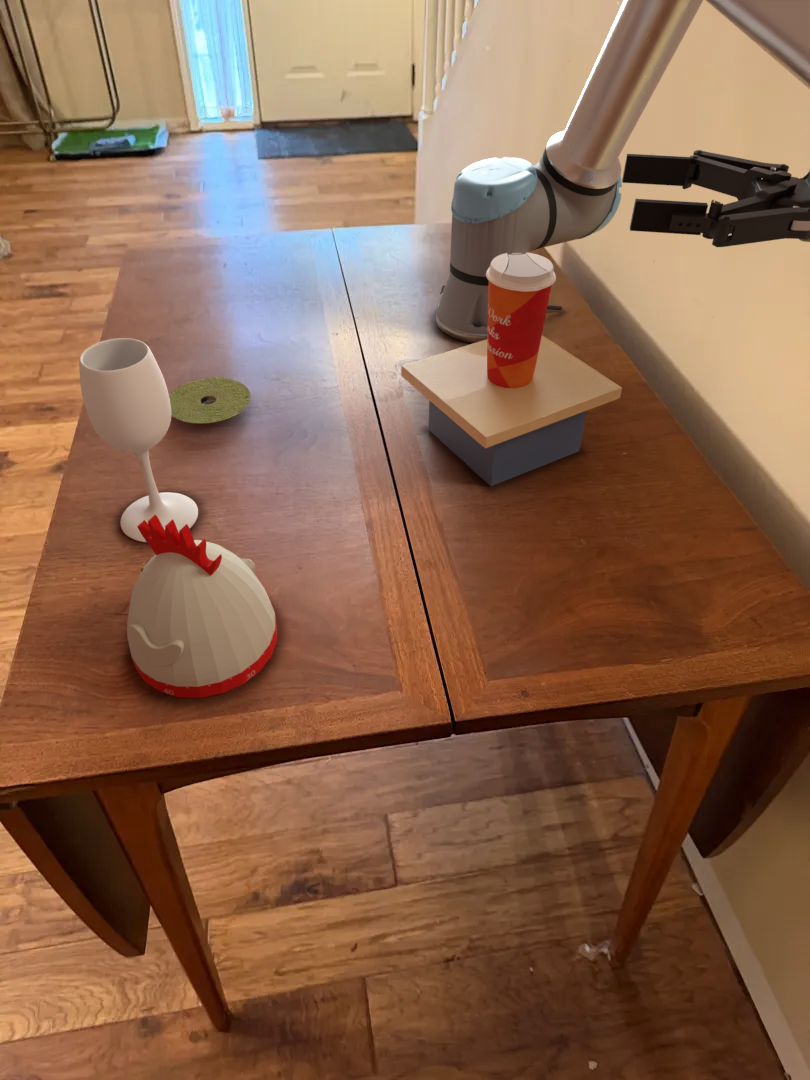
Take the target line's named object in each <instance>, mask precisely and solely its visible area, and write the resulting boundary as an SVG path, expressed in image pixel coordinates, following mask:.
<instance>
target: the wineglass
mask: <svg viewBox="0 0 810 1080" xmlns="http://www.w3.org/2000/svg"><path fill="white" fill-rule="evenodd" d="M78 362H79V363H78V365H79V367H78V368H79V383H80V389H81V390H80V391H81V396H82V400H83V401H82V402H83V405H84V408H85V411H86V414H87V417H88V419H89V422H90V424H91V426H92V428H93V430H94V431H95V433H96V435H97V436H98V437H99V439H101V440H102V441H103V442H104V443H106V444H107V445H109V446H110V447H111V448H114V449H116V450H119V451H121V452H125V453H132V454H134V455H135V456H136V458H137V460H138V463H139V466H140V468H141V471H142V474H143V478H144V482H145V486H146V491H147V495H145V496H142V497H140V498H139V499H137V500H135V501H134V502H132V503H131V504H130V505H129V506H128V507H127V508H126V509H125V510H124V511H123V513H122V515H121V517H120V528H121V530H122V532H123V533H124V534H125V535H126V536H127V537H128V538H130V539H132V540H134V541H137V542H141V543H147V542H146V540H145V539H144V537H143V536H142V534H141V533H140V531H139V529H138V527H137V526H138V525H139V524H140V523H142V522H143V521H144V520H145V521H146V522H147V523H148V521H149V520H150V519H151V518H152V517H153V516H154V515H156V516H157V517H158V519H159V521H160V522H161V524H162V526H163V528H164V530H165V526H166V525H167V524H168V523H169V522H170V521H171V520H172V519H173V520H174V522H175V525H176V527H177V530H178V532H179V531H180V530H181V529H182V528H183V527H184V526H185V525H186V524H187V525H188V527H189V529H190V530H191V528H192V527H193V526H194V525H195V523H196V521H197V520H198V516H199V508H198V505H197V503H196V502H195V501H194V500H193V499H192V498H191V497H189V496H188V495H184V494H183V493H178V492H171V491H165V492H162V491H161V492H159V490H158V487H157V484H156V482H155V478H154V474H153V471H152V467H151V462H150V455H149V454H150V453H149V451H150V450H151V449H152V448H155V446H157V445H158V444H159V443H161V441H162V440H163V439H164V437H165V436H166V435H167V432H168V431H169V428H170V426H171V422H172V416H171V404H170V398H169V395H170V393H169V390H168V387H167V383H166V380H165V378H164V375H163V373H162V371H161V368H160V366H159V364H158V362H157V359H156V358H155V356H154V354H153V352H152V350H151V348H150V346H148V344H146V343H145V342H144V341H141V340H139V339H135V338H131V337H119V338H118V337H115V338H109V339H105V340H102V341H98V342H96V343H94V344H92V345H90V346H88V347H87V348H85V349H84V351H82V353H81V354H80V356H79V361H78Z"/></svg>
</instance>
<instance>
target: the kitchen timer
mask: <svg viewBox="0 0 810 1080" xmlns="http://www.w3.org/2000/svg"><path fill="white" fill-rule="evenodd" d="M137 527H138V529H139V531H140V533H141V534H142V536H143V537H144V539H145V540H146V542H145V543H147V545H148V546H149V547H150V549H151V551H152V552H153V553H154V555H153V556H152V557H151V558H150V559H149V560H148V561H147V563H146V564H145V565H144V566H143V567H141V568H140V574H139V575H138V577H137V579H136V581H135V583H134V585H133V587H132V592H131V595H130V602H129V606H128V607H129V608H128V616H127V623H126V625H127V626H126V636H127V637H126V639H127V643H128V647H129V651H130V655H131V659H132V662H133V665H134V667H135V668H134V669H135V670H136V671H137V673H138V674H139V676H140V677H141V678H142V679H143V681H144V682H145V683H146V684H147V685H149V686H150V687H152V688H154V689H155V690H156V691H158V692H160V693H163V694H165V695H169V696H173V697H178V698H188V699H189V698H190V699H202V698H208V697H213V696H217V695H221V694H225V693H226V692H229V691H231V690H233V689H235V688H238V687H240V686H242V685H244V684H245V683H247V682H248V681H250V680H251V679H252V678H253V677H255V676H256V675H257V674H258V673H260V672H261V670H262V669H263V668H264V666H265V665H266V664H267V662H268V661H269V660H270V659H271V657H272V656H273V653H274V650H275V647H276V644H277V642H278V625H277V623H278V622H277V618H276V613H275V609H274V607H273V605H272V602H271V599H270V597H269V595H268V593H267V591H266V589H265V587H264V586H263V585H262V583H261V581H260V579H259V578H258V577H257V575H256V574H255V573H256V569H257V568H256V564H255V563H254V561H253V560H252V559H250V558H242V557H239V556H238V555H237V554H235V553H234V552H232V551H231V550H228V549H226V548H225V547H224V546H222V545H220V544H217V543H213V542H210V541H207V540H206V539H202V540H201V539H194V536H193V534H192V531H191V528H190V529H189V527H188V525H187V524H186V525H185V526H184V527H183V528H182V529H181V530H180V531H179V532H178V530H177V527H176V525H175V522H174V520H173V519H172V520H171V521H170V522H169V523H168V524H167V525H166V526H165V530H164V528H163V526H162V524H161V522H160V521H159V519H158V517H157V516H156V515H154V516H153V517H152V518H151V519H150V520H149V521H148V523H147V522H146V521H145V520H144V521H143V522H142V523H140V524H139V525H138V526H137Z"/></svg>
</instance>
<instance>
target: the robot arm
mask: <svg viewBox="0 0 810 1080" xmlns="http://www.w3.org/2000/svg"><path fill="white" fill-rule="evenodd" d="M705 1H706V2H707V3H708V4H709V5H711V6H712V7H713V8H714V9H715V10H716V11H717V12H719V13H720V14H721V15H722V16H723V17H725V18H726V19H727V20H728V21H729V22H730V23H731V24H732V25H734V26H735V27H736V28H737V29H738V30H740V32H742V33H743V34H745V35H746V36H747V37H748V38H749V39H750V40H751V41H753V42H754V43H755V44H756V45H757V46H758V47H759V48H761V49H762V50H763V51H764V52H765V53H767V54H768V55H769V56H770V57H771V58H772V59H774V61H775V62H777V63H778V64H779V65H781V66H782V67H783V68H784V69H785V70H787V72H789V73H790V74H791V75H792V76H793V77H794V78H796V79H797V80H798V81H799V82H800V83H801V84H803V85H804V86H805V87H806V88H808V89H809V90H810V0H705ZM703 2H704V0H623V1H622V3H621V5H620V8H619V10H618V13H617V15H616V16H615V19H614V21H613V23H612V26H611V27H610V30H609V33H608V35H607V37H606V39H605V41H604V43H603V45H602V47H601V50H600V52H599V54H598V57H597V58H596V61H595V62H594V65H593V67H592V70H591V72H590V74H589V77H588V79H587V80H586V82H585V85H584V88H583V90H582V91H581V94H580V95H579V98H578V100H577V102H576V104H575V107H574V109H573V111H572V114H571V116H570V118H569V120H568V123H567V125H566V127H565V129H564V130H562V131H559V132H557V133H555V134H553V135H552V136H551V137H550V138H549V139H548V141H547V143H546V145H545V148H544V150H543V153H542V154H541V157H540V160H539V161H538V162H537V163H536V164H532V163H531V162H530V161H528V160H527V159H524V158H520V157H515V156H513V157H512V156H503V157H500V158H498V157H489V158H485V159H481V160H478V161H475V162H473V163H471V164H469V165H468V166H466V167H464V169H462V170H461V171H460V173H459V174H458V175H457V176H456V179H455V181H454V185H453V193H452V199H451V200H452V201H451V203H450V210H451V228H450V229H451V230H450V231H451V234H450V251H449V252H450V253H449V273H448V276H447V279H446V282H445V284H444V285H442V287H441V290H440V295H441V297H440V299H439V301H438V303H437V305H436V310H435V322H436V325H437V327H438V328H439V329H440V330H441V331H442V332H443V333H444V334H446V335H447V336H449V337H452V338H454V339H455V340H459V341H463V342H465V343H466V342H467V343H471V344H473V343H477V342H480V341H483V340H486V339H487V334H488V288H489V280H488V279H487V277H486V272H487V270H488V268H489V267H490V265H491V262H492V260H493V259H494V258H495V257H497V256H499V255H501V254H505V253H507V254H508V255H512V253H522V254H526V252H527V253H530V252H532V251H535V250H539V249H544V248H547V247H551V246H555V245H559V244H563V243H567V242H571V241H575V240H581V239H584V238H587V237H589V236H591V235H592V234H595V233H597V232H600V231H601V230H602V229H604V228H605V227H606V226H607V225H608V224H610V222H611V221H612V220H613V219H614V217H615V215H616V213H617V212H618V210H619V207H620V203H621V199H622V193H621V192H620V188H622V187H623V184H636V185H637V184H639V185H655V186H656V185H657V186H672V187H673V186H675V187H681V188H682V189H683V190H687V189H689V188H692V185H695V186H698V187H701V188H704V189H708V190H710V191H714V192H717V193H719V194H723V195H727V196H731V197H733V198H736V199H737V201H732V202H728V203H725V204H724V203H721V202H720V201H718V200H715V199H712V200H711V201H710V205H709V204H708V202H699V201H698V202H697V201H682V200H681V201H680V200H664V199H663V200H662V199H650V198H649V199H648V198H646V199H645V198H635V199H634V204H633V205H634V206H633V210H632V213H631V219H630V225H629V231H630V232H644V233H645V232H646V233H657V234H658V233H661V234H662V233H663V234H675V235H691V236H693V235H694V236H702V238H704V239H707V240H712V242H711V245H712V246H713V247H715V248H726V247H733V246H734V247H735V246H741V245H748V244H756V243H762V242H763V243H764V242H771V241H778V240H786V239H788V240H789V239H790V240H791V239H792V240H794V239H795V240H798V241H801V242H805V243H810V169H809V171H808V173H806V175H804V176H803V177H800V178H799V177H796V176H792V173H790V172H789V169H790V166H789V165H787V164H785V163H772V162H771V163H770V162H762V161H757V160H752V159H747V158H743V157H742V158H741V157H736V156H731V155H726V154H722V153H721V154H720V153H716V152H709V151H705V150H702V149H696V150H694V151H693V153H692V155H690V156H675V155H657V154H639V153H627V154H626V158H625V161H624V168H623V173H622V165H621V161H620V158H619V157H620V156H621V153H622V151H623V150H624V148H625V146H626V144H627V142H628V140H629V139H630V137H631V135H632V133H633V132H634V130H635V127H636V126H637V124H638V122H639V120H640V118H641V116H642V115H643V113H644V110H645V109H646V107H647V105H648V104H649V102H650V100H651V98H652V96H653V94H654V92H655V90H656V88H657V86H658V85H659V83H660V82H661V80H662V77H663V76H664V74H665V72H666V70H667V68H668V66H669V64H670V63H671V61H672V59H673V57H674V56H675V53H676V52H677V50H678V48H679V46H680V44H681V42H682V41H683V39H684V37H685V35H686V33H687V31H688V30H689V28H690V26H691V24H692V22H693V20H694V19H695V16H696V15H697V13H698V11H699V9H700V7H701V5H702V4H703ZM621 174H622V176H621ZM708 207H709V209H708ZM707 211H708V212H707ZM508 257H509V256H508ZM548 310H550V311H562V310H563V306H562V305H549V304H548V307H547V311H548Z"/></svg>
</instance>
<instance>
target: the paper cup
mask: <svg viewBox="0 0 810 1080" xmlns="http://www.w3.org/2000/svg"><path fill="white" fill-rule="evenodd" d="M508 256H509V257H508ZM486 277H487V279H488V280H489V288H488V334H487V376H488V379H489V380H490V381H491V382H492V383H493V384H495V385H497V386H500V387H504V388H520V387H524V386H526V385H528V384H529V383H531V381H532V379H533V375H534V371H535V367H536V362H537V357H538V352H539V347H540V342H541V337H542V335H543V332H544V327H545V321H546V317H547V313H548V309H547V307H548V305H549V301H550V296H551V291H552V285H554V283H555V282H556V280H557V275H556V273H555V271H554V264H553V262H552V261H551V260H550V259H548V258H547V257H545V256H543V255H541V254H537V253H534V252H528V253H527V252H526V254H522V253H512V255H508V254H507V253H505V254H501V255H499V256H497V257H495V258H494V259H493V260H492V262H491V265H490V267H489V268H488V270H487V272H486Z"/></svg>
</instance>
